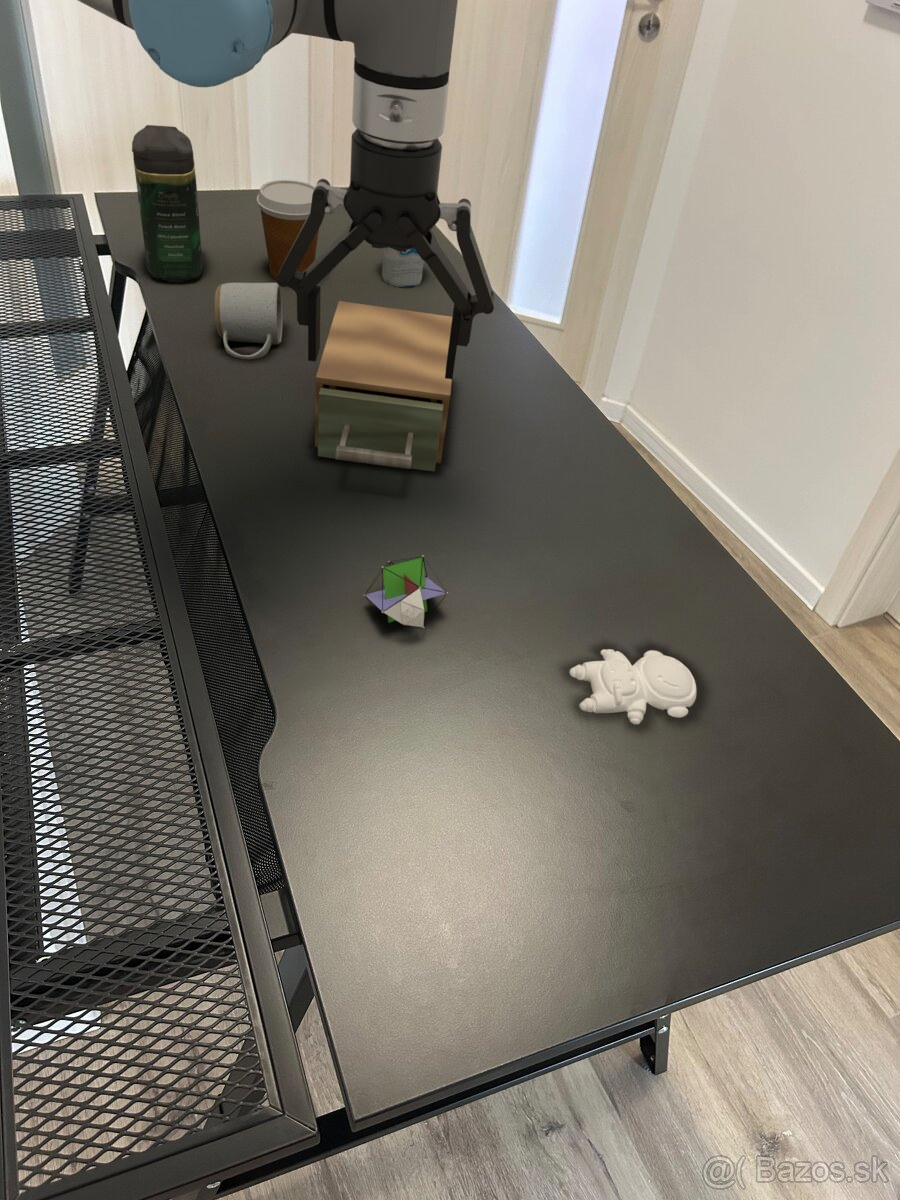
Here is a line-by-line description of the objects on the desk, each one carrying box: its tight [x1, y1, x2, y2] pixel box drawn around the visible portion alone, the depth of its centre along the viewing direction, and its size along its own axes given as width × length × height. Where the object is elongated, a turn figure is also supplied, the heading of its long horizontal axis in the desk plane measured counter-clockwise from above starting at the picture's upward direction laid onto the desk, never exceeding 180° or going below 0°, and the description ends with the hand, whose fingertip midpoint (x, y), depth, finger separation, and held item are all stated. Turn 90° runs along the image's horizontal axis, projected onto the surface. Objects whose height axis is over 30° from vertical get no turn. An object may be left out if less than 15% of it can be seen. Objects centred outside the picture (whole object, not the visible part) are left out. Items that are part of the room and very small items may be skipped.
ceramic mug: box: [214, 282, 284, 360], centre depth 110 cm, size 11×8×8 cm
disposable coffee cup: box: [256, 179, 320, 280], centre depth 124 cm, size 10×10×12 cm
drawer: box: [317, 385, 444, 472], centre depth 98 cm, size 22×13×8 cm, turn 177°
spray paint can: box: [381, 247, 425, 289], centre depth 125 cm, size 6×6×20 cm
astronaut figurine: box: [569, 648, 697, 725], centre depth 78 cm, size 9×12×3 cm
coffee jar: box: [131, 124, 203, 283], centre depth 118 cm, size 10×8×19 cm
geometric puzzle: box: [363, 554, 449, 631], centre depth 80 cm, size 7×7×8 cm
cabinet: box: [314, 300, 453, 464], centre depth 102 cm, size 18×15×10 cm
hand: (381, 363), depth 85 cm, fingers open, 13 cm apart
